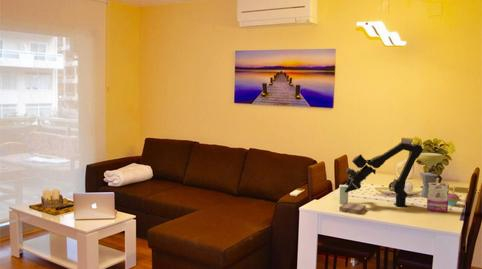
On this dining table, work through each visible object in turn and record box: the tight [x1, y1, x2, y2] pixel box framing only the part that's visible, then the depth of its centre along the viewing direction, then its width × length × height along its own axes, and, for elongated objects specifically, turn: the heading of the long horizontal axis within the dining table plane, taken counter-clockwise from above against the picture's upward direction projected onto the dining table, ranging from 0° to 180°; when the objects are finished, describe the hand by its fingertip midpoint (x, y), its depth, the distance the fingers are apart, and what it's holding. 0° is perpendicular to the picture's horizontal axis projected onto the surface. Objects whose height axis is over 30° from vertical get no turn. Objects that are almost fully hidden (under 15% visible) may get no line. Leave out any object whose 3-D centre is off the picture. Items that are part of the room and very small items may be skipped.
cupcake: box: [448, 186, 460, 207], centre depth 273 cm, size 9×8×12 cm
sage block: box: [338, 184, 349, 205], centre depth 275 cm, size 5×5×11 cm
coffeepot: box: [420, 169, 443, 199], centre depth 292 cm, size 15×9×18 cm, turn 33°
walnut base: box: [339, 202, 367, 215], centre depth 260 cm, size 12×12×2 cm
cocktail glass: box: [417, 151, 445, 189], centre depth 318 cm, size 18×18×25 cm
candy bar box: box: [426, 182, 450, 213], centre depth 259 cm, size 11×5×16 cm, turn 68°
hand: (344, 190), depth 275 cm, fingers open, 9 cm apart
